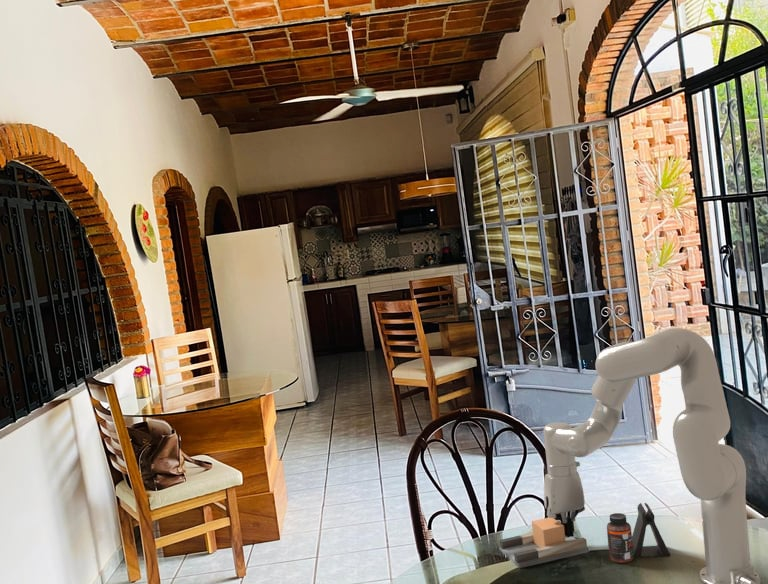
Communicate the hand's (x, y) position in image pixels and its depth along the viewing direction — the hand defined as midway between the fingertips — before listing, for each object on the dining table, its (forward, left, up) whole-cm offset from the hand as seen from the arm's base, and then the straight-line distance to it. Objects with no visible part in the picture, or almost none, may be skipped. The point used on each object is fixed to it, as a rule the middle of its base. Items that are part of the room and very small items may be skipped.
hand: (568, 535), depth 199 cm
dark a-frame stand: (-14, -15, -3) cm, 21 cm away
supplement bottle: (-14, -7, -3) cm, 16 cm away
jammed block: (0, +6, -2) cm, 6 cm away
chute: (0, +8, -3) cm, 8 cm away
